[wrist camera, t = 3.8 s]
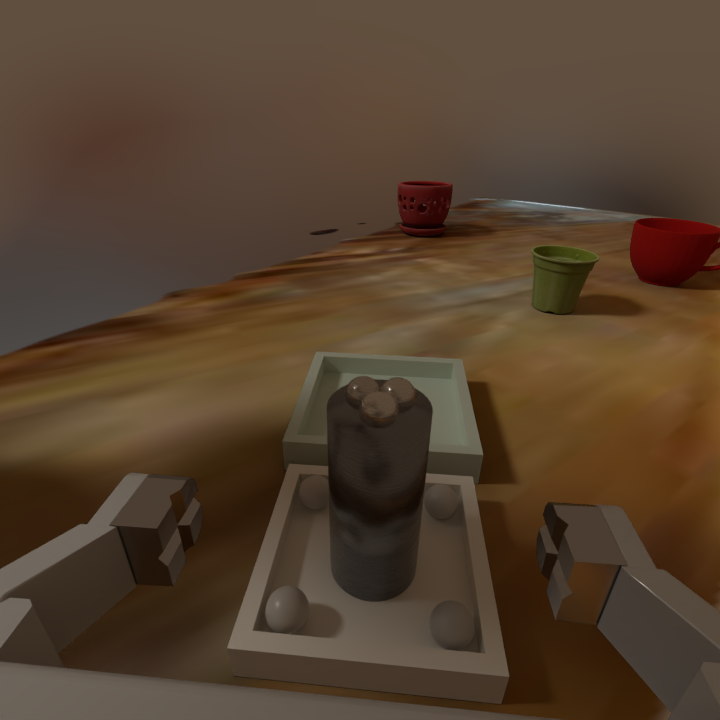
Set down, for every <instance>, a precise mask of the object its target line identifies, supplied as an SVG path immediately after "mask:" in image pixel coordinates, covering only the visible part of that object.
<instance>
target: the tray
mask: <svg viewBox="0 0 720 720" xmlns="http://www.w3.org/2000/svg"><path fill="white" fill-rule="evenodd" d="M227 650H228V655H229V660H230V664H231V669H232V674H233V676H239V677H249V678H258V679H268V680H277V681H287V682H296V683H306V684H315V685H325V686H334V687H343V688H353V689H362V690H372V691H381V692H391V693H400V694H410V695H419V696H429V697H438V698H447V699H457V700H466V701H476V702H485V703H495V704H501V703H502V700H503V696H504V693H505V690H506V686H507V683H508V680H509V672H508V667H507V661H506V656H505V650H504V645H503V639H502V634H501V628H500V623H499V617H498V612H497V606H496V601H495V595H494V590H493V585H492V579H491V574H490V568H489V563H488V557H487V552H486V546H485V541H484V535H483V530H482V524H481V519H480V513H479V508H478V502H477V497H476V491H475V486H474V480H473V477H471V476H457V475H443V474H429V473H426V481H425V490H424V499H423V509H422V518H421V528H420V537H419V546H418V556H417V565H416V572H415V576H414V579H413V581H412V583H411V584H410V586H409V587H408V588H407V589H406V590H405V591H404V592H403V593H401V594H400V595H398V596H396V597H395V598H392V599H389V600H385V601H379V602H370V601H364V600H360V599H357V598H355V597H353V596H351V595H349V594H348V593H346V592H345V591H344V590H343V589H342V588H341V587H340V586H339V585H338V584H337V582H336V581H335V579H334V577H333V575H332V571H331V563H330V524H329V484H328V466H317V465H302V464H289V465H288V468H287V471H286V474H285V477H284V480H283V483H282V486H281V489H280V492H279V495H278V498H277V501H276V504H275V507H274V510H273V513H272V516H271V519H270V522H269V525H268V528H267V531H266V534H265V537H264V540H263V543H262V546H261V549H260V552H259V555H258V558H257V561H256V564H255V567H254V570H253V573H252V576H251V579H250V582H249V585H248V588H247V591H246V593H245V596H244V599H243V602H242V605H241V608H240V611H239V614H238V617H237V620H236V623H235V626H234V629H233V632H232V635H231V638H230V641H229V644H228V647H227Z"/></svg>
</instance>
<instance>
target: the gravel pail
mask: <svg viewBox="0 0 720 720" xmlns="http://www.w3.org/2000/svg"><path fill="white" fill-rule="evenodd" d="M432 415H433V408H432V405H431V402H430V401H429V399H428V398H427V397H426V396H425V395H424V394H423V393H422V392H420V391H419V390H417V389H416V388H414V386H413V385H412V384H411V383H410V382H409V381H408V380H406V379H404V378H400V377H395V378H391V379H389V380H379V379H373V378H371V377H367V376H360V377H356V378H354V379H353V380H351V381H350V382H349V384H348V385H345V386H343V387H341V388H340V389H338V390H337V391H335V392H334V393H333V394H332V395H331V397H330V398H329V400H328V402H327V444H328V484H329V524H330V563H331V571H332V575H333V577H334V579H335V581H336V582H337V584H338V585H339V586H340V587H341V588H342V589H343V590H344V591H345V592H346V593H348V594H349V595H351V596H353V597H355V598H357V599H360V600H364V601H370V602H379V601H385V600H389V599H392V598H395V597H396V596H398V595H400V594H401V593H403V592H404V591H405V590H406V589H407V588H408V587H409V586H410V584H411V583H412V581H413V579H414V576H415V572H416V565H417V556H418V546H419V537H420V528H421V518H422V509H423V499H424V490H425V481H426V471H427V462H428V452H429V443H430V434H431V424H432Z"/></svg>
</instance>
